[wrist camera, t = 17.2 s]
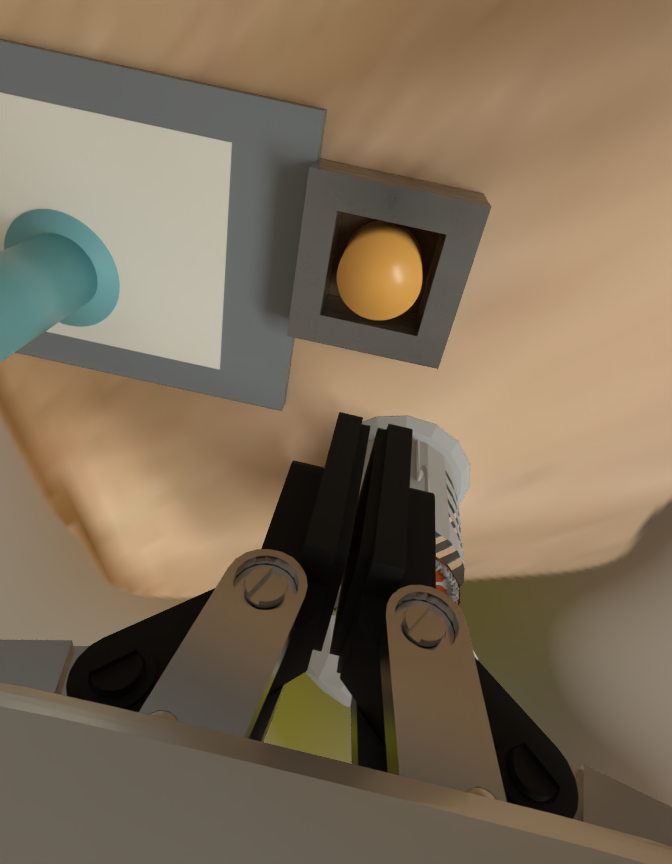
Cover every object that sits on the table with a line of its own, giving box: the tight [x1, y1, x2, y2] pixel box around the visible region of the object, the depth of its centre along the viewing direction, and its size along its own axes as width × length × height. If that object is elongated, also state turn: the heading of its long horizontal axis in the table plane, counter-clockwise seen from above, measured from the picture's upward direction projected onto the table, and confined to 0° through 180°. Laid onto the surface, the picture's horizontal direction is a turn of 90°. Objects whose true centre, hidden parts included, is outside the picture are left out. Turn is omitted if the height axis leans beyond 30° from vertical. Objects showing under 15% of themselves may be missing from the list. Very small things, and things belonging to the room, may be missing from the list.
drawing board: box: [0, 39, 327, 411], centre depth 28 cm, size 20×16×1 cm
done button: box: [337, 220, 422, 320], centre depth 26 cm, size 4×4×3 cm
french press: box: [306, 416, 478, 707], centre depth 24 cm, size 10×12×25 cm
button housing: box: [287, 158, 491, 369], centre depth 26 cm, size 8×8×3 cm
